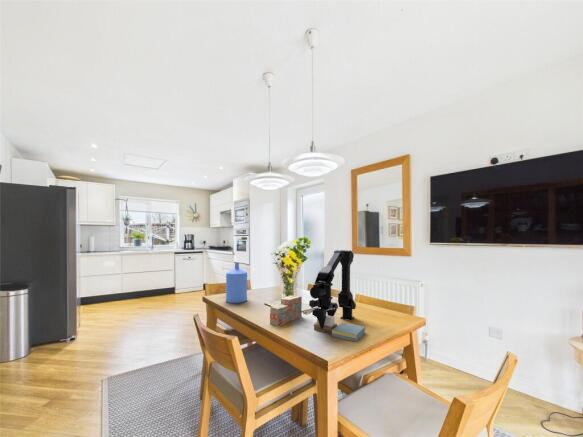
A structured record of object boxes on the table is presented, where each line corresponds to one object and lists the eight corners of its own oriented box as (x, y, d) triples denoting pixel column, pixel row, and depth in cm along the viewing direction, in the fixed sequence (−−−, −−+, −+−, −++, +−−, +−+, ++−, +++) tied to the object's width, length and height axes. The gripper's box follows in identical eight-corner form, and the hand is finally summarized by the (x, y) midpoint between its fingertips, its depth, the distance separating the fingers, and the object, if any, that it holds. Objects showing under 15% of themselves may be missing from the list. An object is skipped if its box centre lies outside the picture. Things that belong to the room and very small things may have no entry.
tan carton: (320, 321, 141) (320, 314, 141) (327, 323, 139) (327, 315, 139) (317, 323, 138) (317, 316, 138) (324, 325, 136) (324, 317, 136)
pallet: (320, 326, 143) (320, 320, 143) (337, 329, 137) (337, 324, 137) (314, 330, 137) (313, 324, 137) (331, 334, 131) (331, 327, 132)
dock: (342, 328, 139) (342, 322, 139) (365, 332, 132) (365, 326, 133) (331, 336, 128) (331, 330, 128) (355, 341, 121) (355, 335, 121)
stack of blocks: (278, 326, 142) (278, 303, 143) (269, 324, 146) (269, 301, 147) (301, 317, 159) (301, 296, 160) (293, 315, 163) (293, 294, 164)
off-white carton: (327, 323, 139) (327, 315, 139) (334, 324, 137) (334, 316, 137) (324, 325, 136) (324, 317, 136) (331, 326, 133) (331, 318, 134)
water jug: (250, 301, 195) (250, 263, 197) (229, 304, 187) (229, 264, 189) (242, 297, 209) (243, 261, 210) (223, 299, 201) (223, 262, 202)
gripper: (319, 290, 150) (320, 318, 149) (303, 296, 135) (303, 328, 134) (338, 292, 144) (338, 322, 143) (322, 299, 129) (323, 332, 128)
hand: (325, 325), depth 137 cm, fingers open, 9 cm apart
